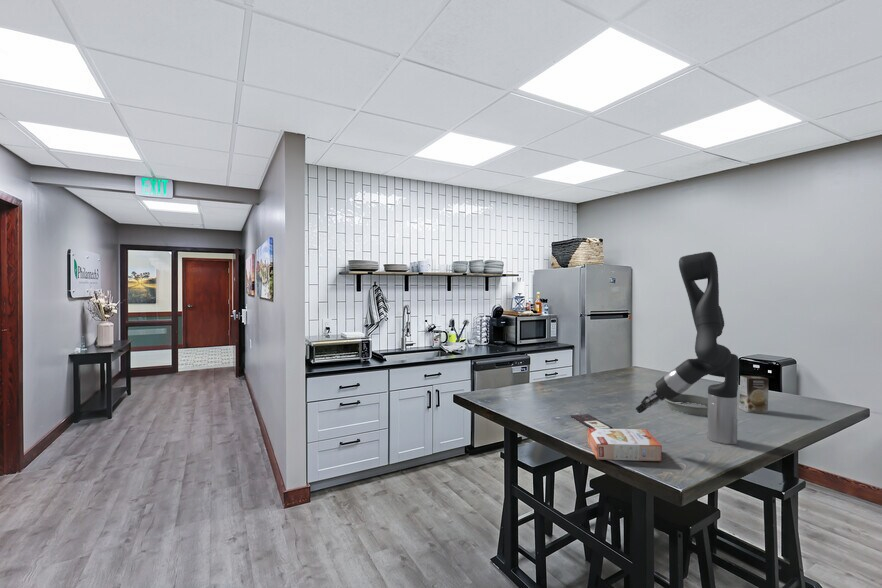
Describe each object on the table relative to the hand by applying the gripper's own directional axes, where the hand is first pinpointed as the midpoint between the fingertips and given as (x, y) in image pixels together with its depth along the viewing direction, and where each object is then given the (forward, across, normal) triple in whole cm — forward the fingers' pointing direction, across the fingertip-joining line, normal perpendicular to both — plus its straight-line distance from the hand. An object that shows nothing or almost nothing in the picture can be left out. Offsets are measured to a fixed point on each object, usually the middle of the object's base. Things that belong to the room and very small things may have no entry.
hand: (638, 410), depth 151 cm
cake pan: (+14, -67, +5) cm, 69 cm away
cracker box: (+1, +4, +12) cm, 12 cm away
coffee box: (0, -86, +18) cm, 88 cm away
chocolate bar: (+28, -10, -8) cm, 31 cm away
